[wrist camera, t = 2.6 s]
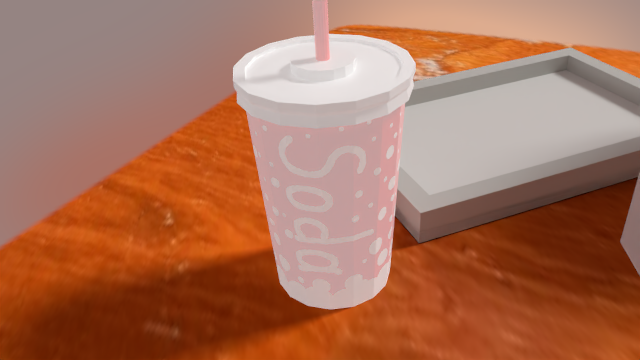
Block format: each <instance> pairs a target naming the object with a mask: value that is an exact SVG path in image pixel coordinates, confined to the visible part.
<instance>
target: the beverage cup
mask: <svg viewBox="0 0 640 360" xmlns="http://www.w3.org/2000/svg"><path fill="white" fill-rule="evenodd" d="M312 4H313V19H314V36H302V37H295V38H291V39H287V40H283V41H278V42H274V43H270V44H267V45H265V46H263V47H260V48H258V49H256V50H254V51H252V52H249V53H247V54H246V55H245V56H244V57H243V58H242V59H241V60H240V61H239V62H238V63H237V64H236V65H235V66H234V67H233V82H234V89H235V90H236V91H237V103H238V104H239V105H240V106H241V107H242V108H243V109H244V110H246V113H247V118H248V123H249V128H250V133H251V138H252V143H253V148H254V153H255V158H256V163H257V168H258V174H259V179H260V184H261V189H262V194H263V199H264V204H265V209H266V214H267V219H268V224H269V229H270V234H271V239H272V245H273V250H274V255H275V260H276V265H277V270H278V275H279V280H280V284H281V285H282V286H283V288H284V289H285V290H286V292H287V293H288V294H289V296H290V297H292V298H294V299H296V300H298V301H300V302H302V303H303V304H305V305H307V306H312V307H318V308H324V309H338V308H346V307H354V306H356V305H358V304H360V303H363V302H365V301H367V300H369V299H372V298H373V297H374V296H375V295H376V294H377V293H378V292H379V291H380V290H381V289H382V288H383V287H384V286H385V285H386V282H387V279H388V275H389V271H390V262H391V252H392V241H393V230H394V219H395V208H396V197H397V186H398V175H399V165H400V154H401V143H402V132H403V121H404V110H405V103H406V102H407V101H408V100H409V98H410V95H411V92H412V90H413V87H414V83H413V76H414V73H415V68H416V63H415V61H414V60H413V59H412V57H411V56H410V54H409V53H408V51H407V50H405V49H403V48H401V47H399V46H397V45H395V44H392V43H390V42H388V41H385V40H380V39H375V38H370V37H366V36H361V35H340V34H329V29H328V7H327V0H312Z"/></svg>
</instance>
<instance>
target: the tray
mask: <svg viewBox="0 0 640 360" xmlns="http://www.w3.org/2000/svg"><path fill="white" fill-rule="evenodd" d="M413 83H414V87H413V90H412V92H411V95H410V98H409V100H408V101H407V102H406V103H405V110H404V121H403V132H402V143H401V154H400V165H399V175H398V186H397V197H396V208H395V216H396V217H397V219H398V220H399V221H400V222H401V223H402V224H403V225H404V227H405V228H406V229H407V230H408V231H409V232H410V233H411V234H412V236H413V237H414V238H415V239H416V240H417V241H418V242H419V243H422V242H425V241H428V240H432V239H435V238H438V237H441V236H445V235H448V234H451V233H455V232H458V231H461V230H465V229H468V228H471V227H474V226H478V225H481V224H484V223H488V222H491V221H494V220H497V219H501V218H504V217H507V216H511V215H514V214H517V213H521V212H524V211H527V210H530V209H534V208H537V207H540V206H544V205H547V204H550V203H553V202H557V201H560V200H563V199H567V198H570V197H573V196H577V195H580V194H583V193H586V192H590V191H593V190H596V189H600V188H603V187H606V186H610V185H613V184H616V183H619V182H623V181H626V180H629V179H633V178H636V177H638V176H639V173H640V79H639V78H637V77H635V76H633V75H630V74H628V73H626V72H624V71H622V70H619V69H617V68H615V67H613V66H610V65H608V64H606V63H604V62H601V61H599V60H597V59H595V58H593V57H590V56H588V55H586V54H584V53H581V52H579V51H577V50H575V49H572V48H567V49H562V50H558V51H553V52H549V53H544V54H539V55H535V56H530V57H526V58H521V59H516V60H512V61H507V62H503V63H498V64H493V65H489V66H484V67H480V68H475V69H470V70H466V71H461V72H457V73H452V74H447V75H443V76H438V77H434V78H429V79H424V80H420V81H415V82H413Z"/></svg>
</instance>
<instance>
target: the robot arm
mask: <svg viewBox="0 0 640 360" xmlns="http://www.w3.org/2000/svg"><path fill="white" fill-rule="evenodd" d="M620 243H621V244H622V246H623V248H624V250H625V251H626V253H627V255H628V257H629V258H630V260H631V262H632V264H633V265H634V267H635V269H636V270H637V272H638V274H639V276H640V173H639V176H638V180H637V183H636V187H635V191H634V194H633V198H632V201H631V205H630V208H629V212H628V215H627V219H626V223H625V226H624V230H623V233H622V237H621V240H620Z"/></svg>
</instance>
